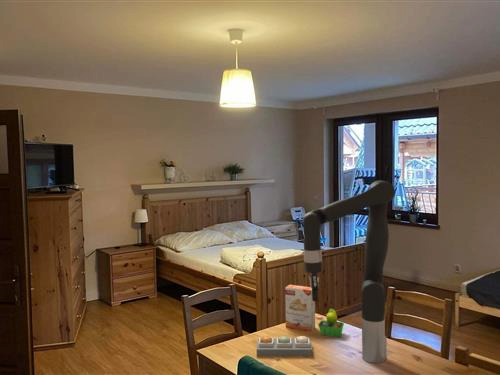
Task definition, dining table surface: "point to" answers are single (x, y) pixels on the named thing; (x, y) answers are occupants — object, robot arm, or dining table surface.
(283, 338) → the sage button
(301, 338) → the cream button
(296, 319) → the cracker box
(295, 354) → the control panel
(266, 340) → the orange button
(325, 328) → the fruit basket
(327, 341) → the dining table surface
